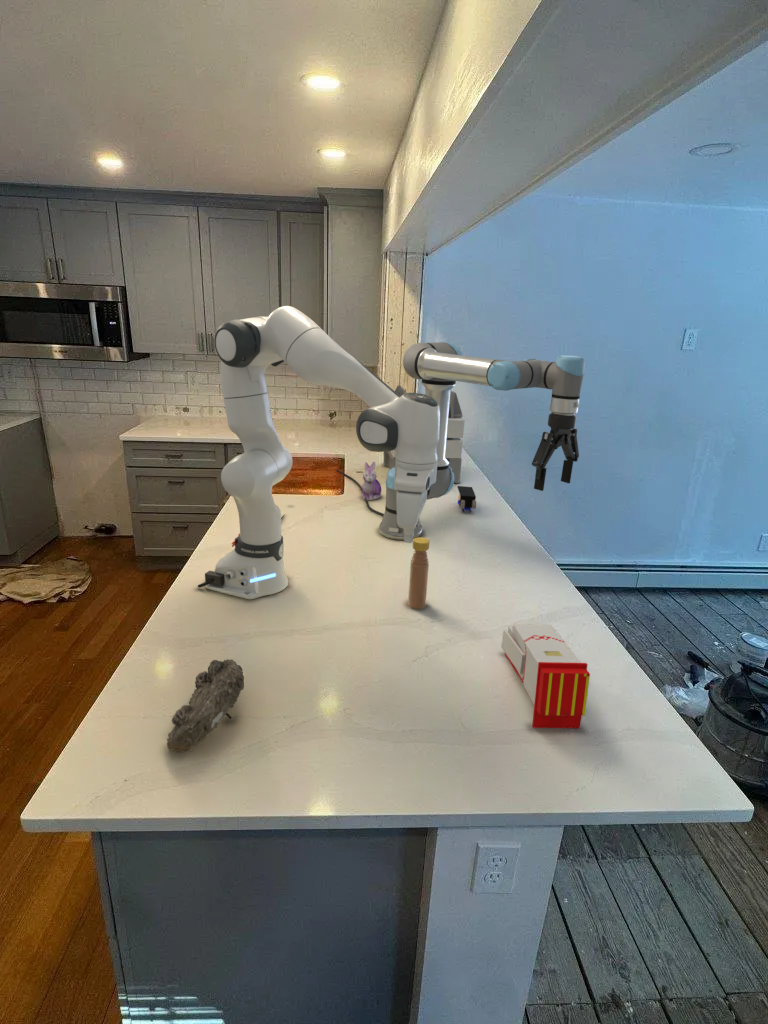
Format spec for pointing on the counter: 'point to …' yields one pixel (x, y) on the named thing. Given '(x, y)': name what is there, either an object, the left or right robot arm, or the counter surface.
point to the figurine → (370, 483)
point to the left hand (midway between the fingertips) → (411, 533)
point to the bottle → (418, 580)
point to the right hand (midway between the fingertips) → (552, 485)
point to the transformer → (453, 437)
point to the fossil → (206, 705)
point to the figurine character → (466, 498)
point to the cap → (421, 544)
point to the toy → (548, 674)
